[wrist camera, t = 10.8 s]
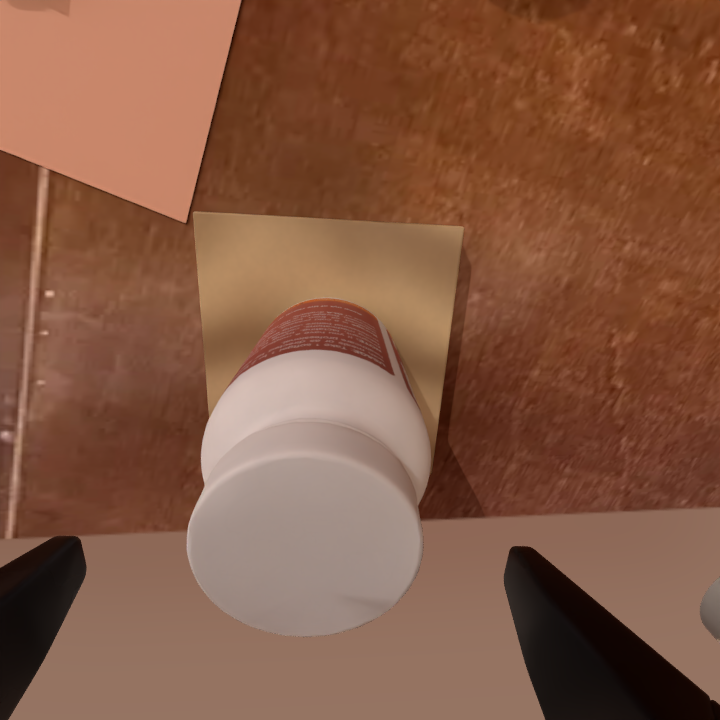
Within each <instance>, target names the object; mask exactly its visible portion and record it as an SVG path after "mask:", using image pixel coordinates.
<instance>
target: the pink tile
mask: <svg viewBox="0 0 720 720" xmlns="http://www.w3.org/2000/svg"><path fill="white" fill-rule="evenodd" d="M240 3H241V0H0V150H3V151H5V152H8V153H10V154H13V155H15V156H18V157H20V158H23V159H25V160H28V161H30V162H33V163H35V164H38V165H40V166H43V167H45V168H48V169H50V170H53V171H55V172H58V173H61V174H63V175H66V176H68V177H71V178H73V179H76V180H78V181H81V182H83V183H86V184H88V185H91V186H93V187H96V188H98V189H101V190H103V191H106V192H108V193H111V194H113V195H116V196H118V197H121V198H123V199H126V200H128V201H131V202H133V203H136V204H138V205H141V206H143V207H146V208H149V209H151V210H154V211H156V212H159V213H161V214H164V215H166V216H169V217H171V218H174V219H176V220H179V221H181V222H184V223H186V221H187V217H188V213H189V209H190V205H191V201H192V197H193V193H194V189H195V185H196V181H197V177H198V172H199V168H200V164H201V160H202V156H203V152H204V148H205V144H206V140H207V136H208V132H209V128H210V124H211V120H212V116H213V112H214V108H215V104H216V100H217V96H218V92H219V88H220V84H221V80H222V76H223V72H224V68H225V64H226V60H227V56H228V52H229V48H230V44H231V40H232V36H233V32H234V28H235V24H236V20H237V16H238V11H239V7H240Z"/></svg>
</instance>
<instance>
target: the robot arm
mask: <svg viewBox="0 0 720 720" xmlns="http://www.w3.org/2000/svg"><path fill="white" fill-rule="evenodd" d="M85 575H86V562H85V557H84V553H83V549H82V544H81V540H80V539H79V538H78V537H76V536H56V537H53V538H51V539H49V540H48V541H46V542H44V543H43V544H41V545H39V546H37V547H36V548H34V549H32V550H30V551H29V552H27V553H25V554H23V555H22V556H20V557H18V558H17V559H15V560H13V561H11V562H10V563H8V564H6V565H5V566H3V567H1V568H0V720H8V719H9V717H10V716H11V714H12V713H13V711H14V709H15V708H16V706H17V704H18V703H19V701H20V699H21V698H22V696H23V694H24V693H25V691H26V689H27V688H28V686H29V684H30V683H31V681H32V679H33V678H34V676H35V674H36V673H37V671H38V669H39V667H40V666H41V664H42V662H43V661H44V659H45V657H46V655H47V653H48V651H49V649H50V647H51V645H52V643H53V641H54V639H55V637H56V635H57V633H58V631H59V629H60V627H61V625H62V623H63V621H64V619H65V617H66V615H67V613H68V611H69V609H70V607H71V604H72V603H73V600H74V599H75V597H76V594H77V593H78V590H79V589H80V587H81V584H82V582H83V580H84V578H85ZM504 586H505V590H506V594H507V597H508V601H509V605H510V609H511V612H512V616H513V620H514V624H515V627H516V631H517V635H518V639H519V642H520V646H521V650H522V654H523V657H524V660H525V664H526V667H527V670H528V673H529V676H530V679H531V681H532V684H533V687H534V690H535V692H536V695H537V698H538V701H539V704H540V706H541V709H542V711H543V714H544V717H545V720H720V705H719V704H718V703H717V702H716V701H714V700H710V698H709V696H708V695H707V694H706V693H705V692H704V691H703V690H701V689H700V688H699V687H698V686H696V685H695V684H694V683H693V682H692V681H691V680H689V679H688V678H687V677H686V676H685V675H683V674H682V673H681V672H680V671H679V670H678V669H676V668H675V667H674V666H673V665H672V664H670V663H669V662H668V661H667V660H666V659H664V658H663V657H662V656H661V655H660V654H658V653H657V652H656V651H655V650H654V649H652V648H651V647H650V646H649V645H648V644H646V643H645V642H644V641H643V640H642V639H641V638H639V637H638V636H637V635H636V634H635V633H633V632H632V631H631V630H630V629H629V628H627V627H626V626H625V625H624V624H623V623H622V622H620V621H619V620H618V619H617V618H615V617H614V616H613V615H612V614H611V613H610V612H608V611H607V610H606V609H605V608H604V607H602V606H601V605H600V604H599V603H598V602H596V601H595V600H594V599H593V598H592V597H590V596H589V595H588V594H587V593H586V592H585V591H583V590H582V589H581V588H580V587H579V586H577V585H576V584H575V583H574V582H573V581H571V580H570V579H569V578H568V577H566V575H564V574H563V573H562V572H561V571H560V570H558V569H557V568H556V567H555V566H554V565H552V564H551V563H550V562H549V561H548V560H546V559H545V558H544V557H543V556H542V555H540V554H539V553H538V552H537V551H536V550H534V549H533V548H531V547H525V546H522V547H521V546H514V547H512V548H511V549H510V551H509V556H508V560H507V564H506V568H505V573H504Z"/></svg>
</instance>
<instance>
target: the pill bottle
mask: <svg viewBox="0 0 720 720" xmlns="http://www.w3.org/2000/svg"><path fill="white" fill-rule="evenodd" d="M430 467H431V448H430V441H429V436H428V432H427V429H426V425H425V422H424V419H423V416H422V413H421V410H420V408H419V406H418V403H417V400H416V398H415V395H414V393H413V390H412V387H411V384H410V382H409V379H408V376H407V374H406V371H405V368H404V366H403V363H402V361H401V358H400V356H399V353H398V351H397V348H396V346H395V343H394V341H393V339H392V337H391V335H390V333H389V331H388V330H387V329H386V327H385V326H384V324H383V323H382V322H381V321H380V320H379V319H378V318H377V317H376V316H375V315H374V314H373V313H371V312H370V311H369V310H367V309H365V308H364V307H362V306H360V305H358V304H355V303H353V302H350V301H347V300H343V299H339V298H330V297H323V298H314V299H309V300H305V301H302V302H300V303H297V304H295V305H293V306H291V307H289V308H288V309H286V310H285V311H283V312H282V313H281V314H280V315H279V316H277V317H276V318H275V319H274V321H273V322H272V323H271V324H270V325H269V326H268V328H267V329H266V331H265V332H264V334H263V335H262V337H261V338H260V340H259V341H258V342H257V344H256V345H255V347H254V348H253V350H252V351H251V353H250V354H249V356H248V357H247V359H246V360H245V362H244V363H243V364H242V366H241V367H240V369H239V370H238V372H237V373H236V375H235V376H234V378H233V379H232V381H231V382H230V384H229V385H228V386H227V388H226V389H225V391H224V393H223V394H222V396H221V398H220V399H219V401H218V403H217V405H216V406H215V408H214V410H213V412H212V414H211V416H210V418H209V421H208V423H207V426H206V429H205V433H204V437H203V442H202V450H201V468H202V475H203V480H204V484H205V487H204V489H203V491H202V493H201V496H200V498H199V500H198V502H197V504H196V506H195V508H194V511H193V513H192V516H191V519H190V522H189V526H188V532H187V553H188V559H189V562H190V566H191V569H192V571H193V574H194V576H195V578H196V580H197V582H198V584H199V585H200V587H201V588H202V590H203V591H204V592H205V594H206V595H207V596H208V597H209V598H210V600H211V601H213V603H214V604H215V605H216V606H218V607H219V608H220V609H221V610H222V611H224V612H225V613H227V614H228V615H230V616H232V617H233V618H235V619H236V620H238V621H240V622H242V623H244V624H246V625H249V626H251V627H254V628H256V629H259V630H263V631H266V632H270V633H274V634H280V635H287V636H298V637H312V636H326V635H333V634H338V633H341V632H345V631H348V630H351V629H354V628H358V627H360V626H362V625H365V624H367V623H369V622H371V621H372V620H374V619H376V618H378V617H379V616H381V615H383V614H384V613H385V612H387V611H388V610H390V609H391V608H392V607H393V606H394V605H395V604H396V603H397V602H398V601H399V600H400V599H401V598H402V597H403V596H404V594H406V592H407V591H408V589H409V588H410V586H411V585H412V583H413V581H414V579H415V578H416V575H417V573H418V571H419V568H420V564H421V560H422V554H423V531H422V526H421V520H420V515H419V510H418V505H419V503H420V501H421V499H422V497H423V494H424V492H425V489H426V487H427V483H428V479H429V474H430Z"/></svg>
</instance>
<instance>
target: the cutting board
mask: <svg viewBox="0 0 720 720" xmlns="http://www.w3.org/2000/svg"><path fill="white" fill-rule="evenodd" d="M193 221H194V233H195V246H196V259H197V271H198V284H199V296H200V309H201V321H202V334H203V346H204V359H205V371H206V384H207V396H208V409H209V418H210V416H211V414H212V412H213V410H214V408H215V406H216V405H217V403H218V401H219V399H220V398H221V396H222V394H223V393H224V391H225V389H226V388H227V386H228V385H229V384H230V382H231V381H232V379H233V378H234V376H235V375H236V373H237V372H238V370H239V369H240V367H241V366H242V364H243V363H244V362H245V360H246V359H247V357H248V356H249V354H250V353H251V351H252V350H253V348H254V347H255V345H256V344H257V342H258V341H259V340H260V338H261V337H262V335H263V334H264V332H265V331H266V329H267V328H268V326H269V325H270V324H271V323H272V322H273V321H274V319H275V318H276V317H277V316H279V315H280V314H281V313H282V312H283V311H285V310H286V309H288V308H289V307H291V306H293V305H295V304H297V303H300V302H302V301H305V300H309V299H314V298H323V297H330V298H339V299H343V300H347V301H350V302H353V303H355V304H358V305H360V306H362V307H364V308H365V309H367V310H369V311H370V312H371V313H373V314H374V315H375V316H376V317H377V318H378V319H379V320H380V321H381V322H382V323H383V324H384V326H385V327H386V329H387V330H388V331H389V333H390V335H391V337H392V339H393V341H394V343H395V346H396V348H397V351H398V353H399V356H400V358H401V361H402V363H403V366H404V368H405V371H406V374H407V376H408V379H409V382H410V384H411V387H412V390H413V393H414V395H415V398H416V400H417V403H418V406H419V408H420V410H421V413H422V416H423V419H424V422H425V425H426V429H427V432H428V436H429V441H430V448H431V467H430V474H431V473H432V468H433V460H434V453H435V445H436V438H437V430H438V423H439V415H440V408H441V400H442V393H443V385H444V378H445V370H446V363H447V355H448V348H449V340H450V333H451V325H452V318H453V310H454V303H455V295H456V288H457V280H458V273H459V265H460V258H461V250H462V243H463V235H464V227H463V226H449V225H432V224H414V223H396V222H379V221H361V220H343V219H326V218H308V217H290V216H273V215H255V214H237V213H219V212H199V211H195V212H193Z"/></svg>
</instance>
